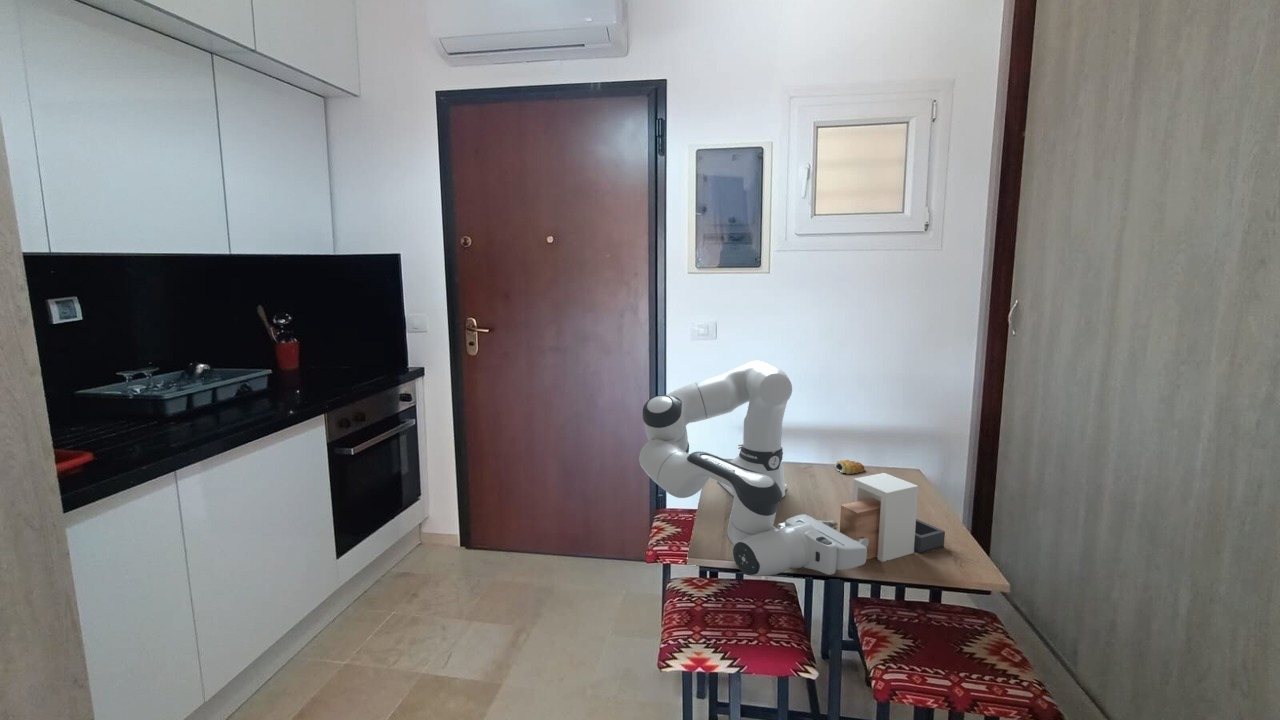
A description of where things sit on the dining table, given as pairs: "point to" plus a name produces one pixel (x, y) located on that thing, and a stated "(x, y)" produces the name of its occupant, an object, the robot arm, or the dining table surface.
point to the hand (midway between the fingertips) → (850, 532)
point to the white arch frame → (891, 512)
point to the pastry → (849, 466)
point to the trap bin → (927, 537)
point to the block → (862, 522)
